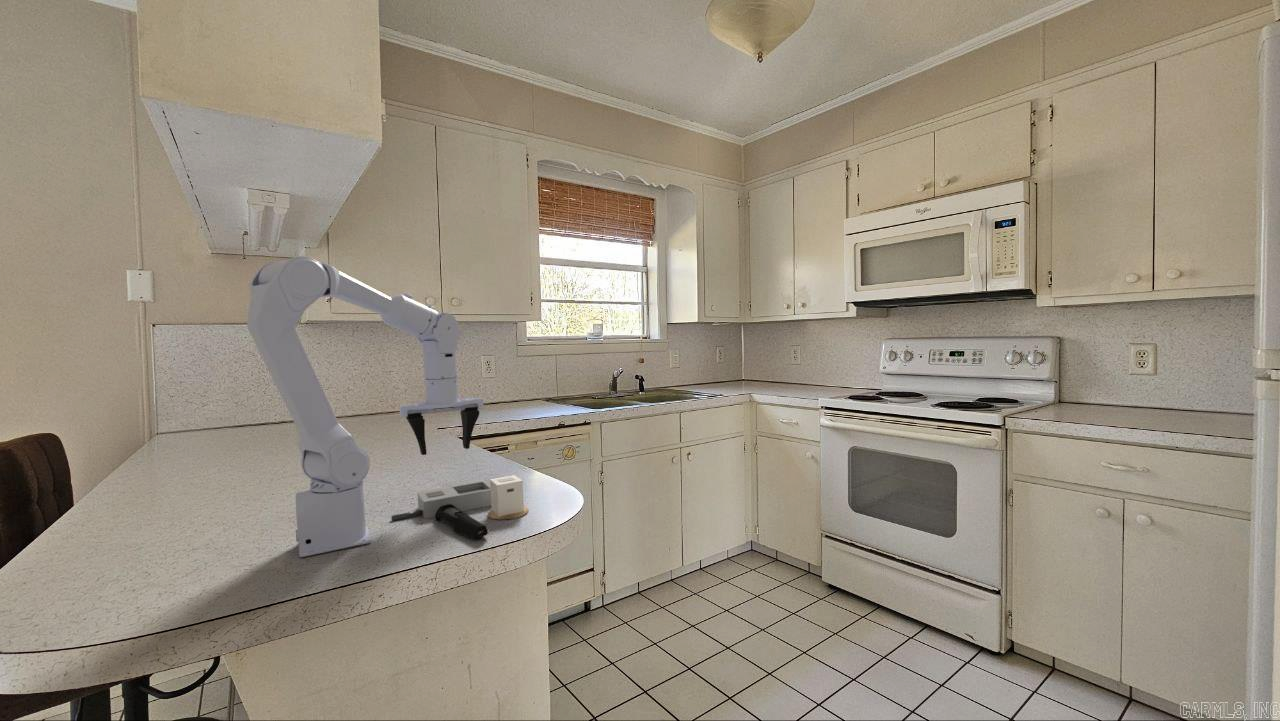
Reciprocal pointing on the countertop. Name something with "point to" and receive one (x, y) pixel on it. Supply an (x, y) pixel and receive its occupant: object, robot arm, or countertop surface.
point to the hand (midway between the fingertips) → (445, 450)
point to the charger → (507, 495)
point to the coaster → (510, 516)
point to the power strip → (451, 499)
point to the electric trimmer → (460, 521)
